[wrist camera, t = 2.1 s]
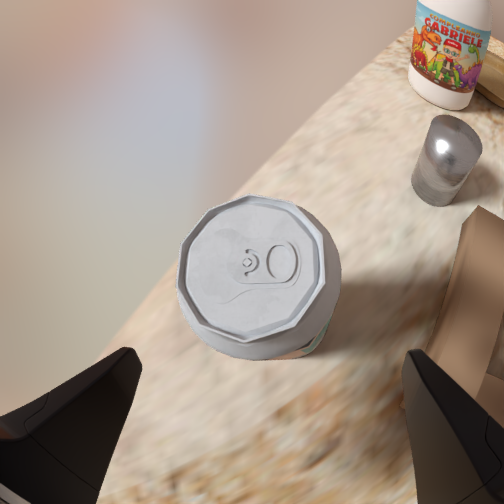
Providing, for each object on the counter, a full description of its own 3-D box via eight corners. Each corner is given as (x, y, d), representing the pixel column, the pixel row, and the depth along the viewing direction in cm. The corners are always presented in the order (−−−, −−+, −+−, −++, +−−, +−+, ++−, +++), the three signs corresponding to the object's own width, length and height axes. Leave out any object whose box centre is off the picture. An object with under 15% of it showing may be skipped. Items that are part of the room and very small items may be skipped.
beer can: (254, 287, 19) (173, 190, 8) (325, 285, 18) (334, 174, 7) (252, 358, 18) (153, 353, 7) (327, 358, 17) (349, 359, 6)
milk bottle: (403, 65, 25) (407, -80, 7) (459, 80, 23) (482, -55, 4) (411, 102, 22) (427, -78, 4) (475, 120, 20) (518, -39, 2)
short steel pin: (435, 215, 18) (465, 169, 13) (401, 178, 20) (419, 126, 14) (462, 192, 18) (490, 146, 13) (430, 158, 20) (449, 108, 14)
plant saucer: (543, 145, 18) (551, 132, 15) (447, 89, 23) (452, 72, 20) (526, 87, 21) (531, 75, 18) (448, 45, 26) (450, 32, 24)
